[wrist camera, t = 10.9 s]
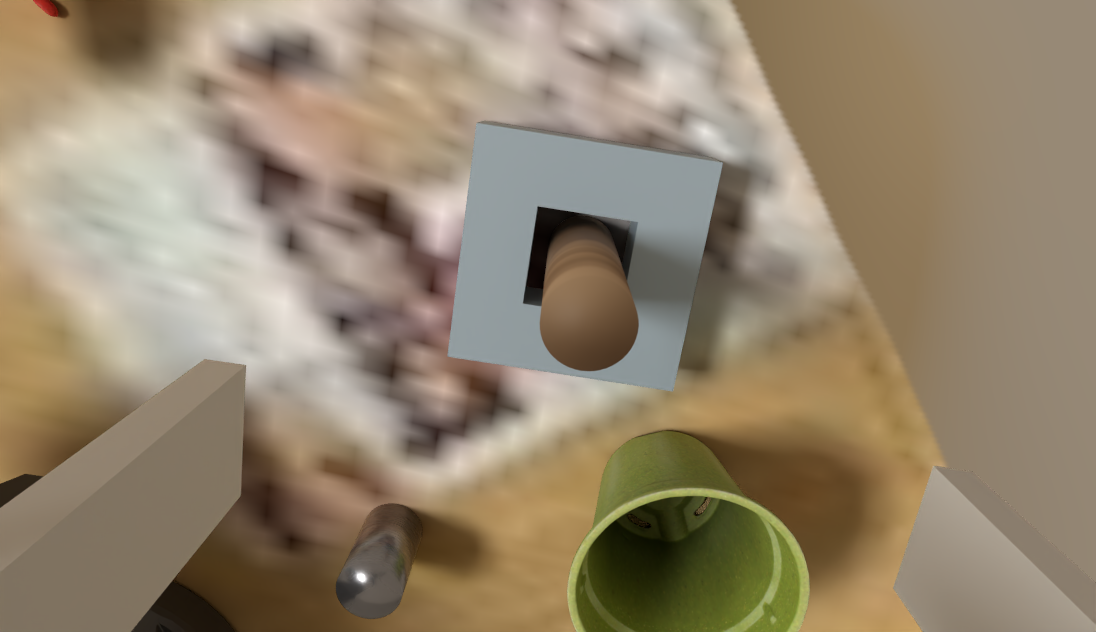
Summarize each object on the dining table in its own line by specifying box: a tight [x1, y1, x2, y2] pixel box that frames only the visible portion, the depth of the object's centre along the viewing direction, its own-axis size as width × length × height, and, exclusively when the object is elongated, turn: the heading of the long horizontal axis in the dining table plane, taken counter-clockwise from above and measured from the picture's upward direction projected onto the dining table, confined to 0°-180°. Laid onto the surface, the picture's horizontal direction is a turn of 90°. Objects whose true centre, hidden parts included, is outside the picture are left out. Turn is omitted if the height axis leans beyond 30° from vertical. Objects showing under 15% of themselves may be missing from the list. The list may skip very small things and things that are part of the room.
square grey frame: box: [448, 121, 723, 391], centre depth 33 cm, size 10×10×3 cm
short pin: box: [336, 504, 422, 619], centre depth 36 cm, size 3×3×5 cm
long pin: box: [540, 215, 639, 371], centre depth 28 cm, size 3×3×12 cm
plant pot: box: [567, 431, 810, 632], centre depth 33 cm, size 9×9×9 cm
